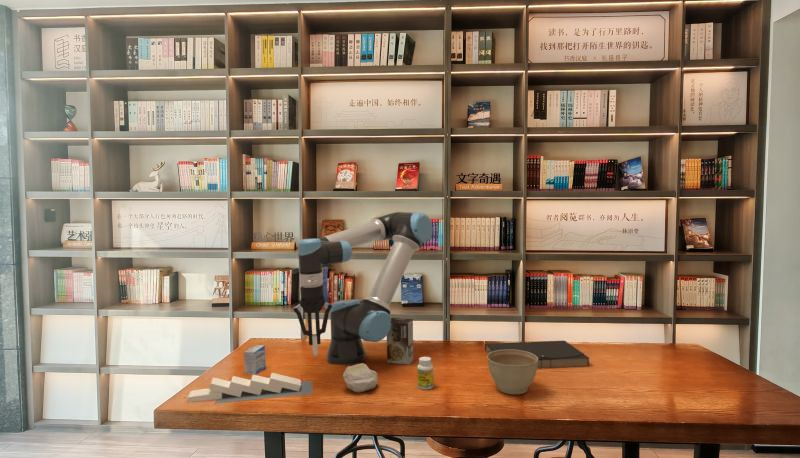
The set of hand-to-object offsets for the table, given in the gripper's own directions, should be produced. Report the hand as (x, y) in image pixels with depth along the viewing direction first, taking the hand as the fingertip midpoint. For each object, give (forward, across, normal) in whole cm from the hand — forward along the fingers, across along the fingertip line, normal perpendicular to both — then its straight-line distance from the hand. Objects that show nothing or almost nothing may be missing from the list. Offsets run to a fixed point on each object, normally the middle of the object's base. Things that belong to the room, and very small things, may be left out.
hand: (315, 353), depth 160 cm
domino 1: (+9, -30, -2) cm, 31 cm away
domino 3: (+9, -18, -2) cm, 20 cm away
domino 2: (+9, -24, -2) cm, 26 cm away
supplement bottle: (+12, +35, -12) cm, 39 cm away
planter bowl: (+12, +62, -22) cm, 66 cm away
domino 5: (+9, -6, -2) cm, 11 cm away
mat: (+10, -17, -2) cm, 20 cm away
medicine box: (+11, -21, +19) cm, 30 cm away
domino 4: (+9, -12, -2) cm, 15 cm away
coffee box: (+12, +33, +14) cm, 38 cm away
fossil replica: (+11, +14, -8) cm, 20 cm away
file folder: (+14, +84, +4) cm, 85 cm away
